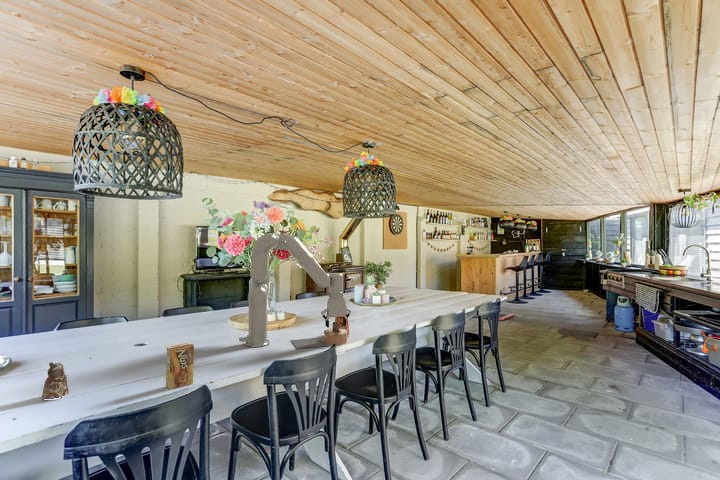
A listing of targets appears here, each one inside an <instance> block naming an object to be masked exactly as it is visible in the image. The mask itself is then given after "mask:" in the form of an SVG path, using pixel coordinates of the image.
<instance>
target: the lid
mask: <svg viewBox="0 0 720 480" xmlns="http://www.w3.org/2000/svg"><path fill="white" fill-rule="evenodd" d="M347 333H348V331H347V330H345V329H339V322H335V321H333V322H332V328H328V329H324V331H323V334H324V335H325V334H326V335H330V336H342V335H346V334H347Z"/></svg>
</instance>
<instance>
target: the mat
mask: <svg viewBox="0 0 720 480" xmlns="http://www.w3.org/2000/svg"><path fill="white" fill-rule="evenodd" d="M290 341H291V343H292V345H293V346H294V348H296V350H303V349H315V348H325V347H328V344H326V343H325V342H324V340H322V339H321V338H320V337H312V338H300V339H291V340H290Z"/></svg>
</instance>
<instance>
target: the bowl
mask: <svg viewBox="0 0 720 480" xmlns="http://www.w3.org/2000/svg"><path fill="white" fill-rule="evenodd" d="M323 342H324V343H325V344H326V345H330V346H334V345H333V344H336V345H335V346H340V345H345V344H347V342H348V337H347V334H346V335H342V336H330V335H326V334H324V340H323Z"/></svg>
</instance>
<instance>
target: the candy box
mask: <svg viewBox="0 0 720 480" xmlns="http://www.w3.org/2000/svg"><path fill="white" fill-rule="evenodd" d="M194 345H195V344H193V343H191V342H186V343H181V344H176V345H171V346H166V360H165V361H166V363H165V364H166V365H165V366H166V367H165V368H166V369H165V370H166V373H165V376H166V377H165V378H166V379H165V388H167V389H169V390H173V388H174V389H176V388H181V387H184V386H188V385H191V384H194V358H195V357H194V354H195V353H194V352H195V351H194V350H195V346H194Z"/></svg>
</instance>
